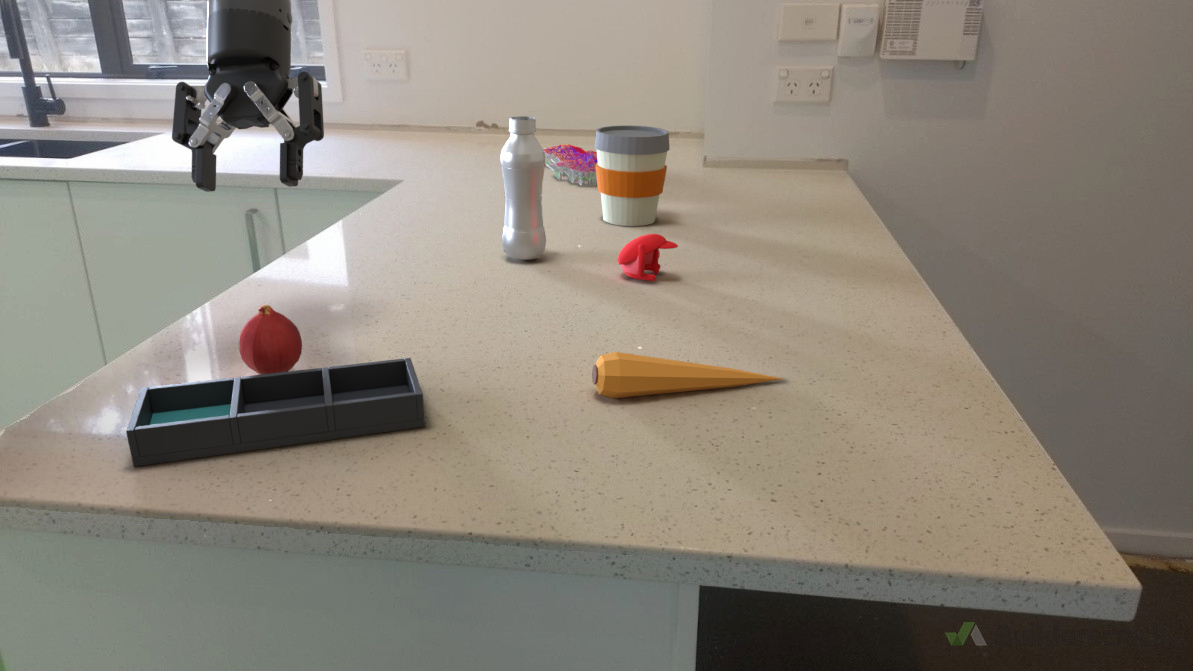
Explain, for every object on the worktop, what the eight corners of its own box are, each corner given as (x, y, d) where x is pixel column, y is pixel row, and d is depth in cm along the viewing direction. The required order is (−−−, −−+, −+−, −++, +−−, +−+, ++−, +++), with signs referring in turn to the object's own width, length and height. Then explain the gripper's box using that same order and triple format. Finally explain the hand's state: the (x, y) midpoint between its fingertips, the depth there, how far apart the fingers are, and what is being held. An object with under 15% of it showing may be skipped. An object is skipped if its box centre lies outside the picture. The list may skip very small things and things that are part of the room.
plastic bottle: (504, 265, 119) (501, 121, 111) (499, 252, 125) (496, 114, 118) (549, 263, 120) (549, 121, 113) (542, 250, 126) (542, 114, 119)
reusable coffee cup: (680, 219, 145) (685, 131, 139) (633, 233, 136) (637, 139, 131) (624, 206, 153) (628, 122, 147) (577, 218, 144) (579, 130, 138)
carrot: (593, 407, 81) (602, 376, 78) (586, 373, 84) (595, 341, 81) (783, 410, 85) (799, 380, 82) (770, 377, 89) (785, 347, 86)
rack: (133, 467, 68) (125, 431, 67) (147, 420, 75) (140, 387, 74) (424, 426, 75) (422, 393, 74) (412, 388, 82) (410, 357, 81)
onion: (245, 370, 85) (233, 296, 82) (304, 364, 87) (295, 291, 84) (243, 395, 80) (231, 317, 77) (307, 387, 82) (297, 310, 79)
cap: (622, 285, 112) (624, 241, 110) (613, 271, 118) (615, 229, 115) (680, 283, 114) (682, 240, 111) (668, 269, 119) (671, 228, 117)
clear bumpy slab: (532, 160, 192) (532, 137, 190) (595, 158, 196) (596, 136, 194) (560, 188, 165) (560, 162, 163) (633, 186, 169) (634, 160, 167)
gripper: (157, 12, 79) (152, 181, 77) (299, -2, 77) (297, 171, 75) (205, 46, 86) (202, 201, 84) (336, 34, 84) (335, 193, 82)
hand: (247, 187), depth 80 cm, fingers open, 8 cm apart
